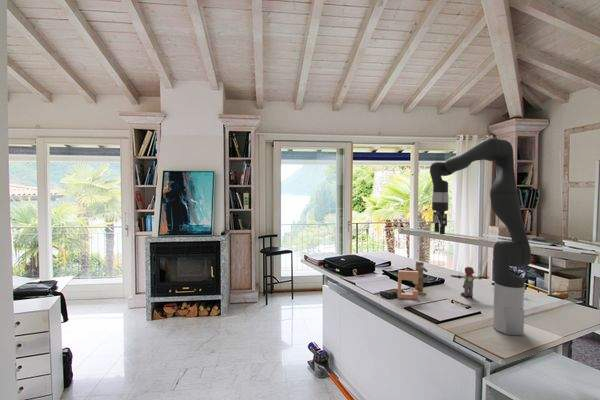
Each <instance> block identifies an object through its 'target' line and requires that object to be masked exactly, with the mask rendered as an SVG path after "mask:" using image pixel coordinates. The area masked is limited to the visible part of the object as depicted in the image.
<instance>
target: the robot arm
mask: <svg viewBox="0 0 600 400" xmlns="http://www.w3.org/2000/svg"><path fill="white" fill-rule="evenodd" d="M483 160H485V161H487V162H492V163H494V165H495V169H496V170H495V171H496V175H495V179H494V182H493V183H492V184H491V188H490V191H489V198H490V203H491V204H490V205H491V208H492V211H493V213H494V215H496V216H497V218H498V219H499V220H500V221H501V222H502V224H504V226H505V227H506V229H507V230H508V232H509V235H510V238H511V240H499V241H496V242H495V244H494V245H493V247H492V248H493V250H492V260H493V261H492V263H493V276H494V282H493V283H494V285H493V314H492V315H493V316H492V317H493V320H492V321H493V322H492V327H493V329H494V330H496V331H498V332H500V333H501V334H505V335H507V336H508V335H509V336H522V337H523V336H524V331H525V329H524V327H525V309H524V306H525V305H524V303H525V302H524V301H525V292H524V290H525V279H524V278H523V276H520V275H516V274H514V273H512V271H511V269H510V267H521V268H523V267H528V266H529V265H530V264H531V263H532V251H531V245H530V241H529V239H528V236H527V232H526V229H525V225H524V220H523V216H522V215H523V214H522V210H521V202H520V197H519V193H518V192H519V191H518V187H517V182H516V175H515V163H514V149H513V145H512V144H511V142H510V141H508V140H506V139H502V138H495V137H488V138H486V139H484V140H481V142H479V143H477V144H476V145H474V146H472V147H470V148H469V149H467V150H466V151H464V152H462V153H459V154H456V155H455V156H452V157H449V158H448V159H446V160H445V161H434V162H432V163H431V165H430V167H429V174H430V177H431V181H432V197H431V198H432V199H431V210H432V211H433V213H432V224H433V225H434V229H433V230H434V232H435V233H439V235H445V233H446V227H447V226H448V214H447V213H445V212H448V211H449V182H448V181H446V180H443V178H442V177H447V176H451V175H452V174H454V173H456V172H458V171H461V170H465V169H466V168H468V167H469V166H470V165H471V164H472V163H473V162H476V161H483Z"/></svg>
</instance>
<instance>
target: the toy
mask: <svg viewBox="0 0 600 400" xmlns="http://www.w3.org/2000/svg"><path fill="white" fill-rule="evenodd" d="M464 273H465V275H459V274H458V275H453V274H450V277H452V278H457V279H464V281H463V282H464V283H463V285H462V288H463V290H464V291H463V292H461V293H460V296H461V297H463V298H465V299H468V298H469V299H473V294H474V292H473V291H474V290H473V289H474V280H475V279H476V280H484V279H489V278H490V276H484V275H483V276H481V275H473V274H475V270H474V268H473V267H471V266H466V267H464Z"/></svg>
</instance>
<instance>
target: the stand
mask: <svg viewBox="0 0 600 400" xmlns="http://www.w3.org/2000/svg"><path fill="white" fill-rule="evenodd" d="M415 271H418V272H419V274H418V284H414V287H411V290H412V291H413V290H417V291H418V295H420V296H421V295H422V296H423V295H425V296H427V292H426V291H425V289H424V272H425V273H427V272H428V269H427V268H425V267H424V262H423V261H421V260H420V261H419V260H417V261H415Z"/></svg>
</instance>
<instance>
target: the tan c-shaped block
mask: <svg viewBox="0 0 600 400" xmlns="http://www.w3.org/2000/svg"><path fill="white" fill-rule="evenodd" d="M418 274H419V272H418V271H416V270H403V269H400V270H399V269H398V270H397V298H398V299H404V300H405V299H406V300H408V299H410V300H418V299H419V294H418V291H417V290H412V292H410V293H409V292H402V281H412V284H413V285H415V284H418Z"/></svg>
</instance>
